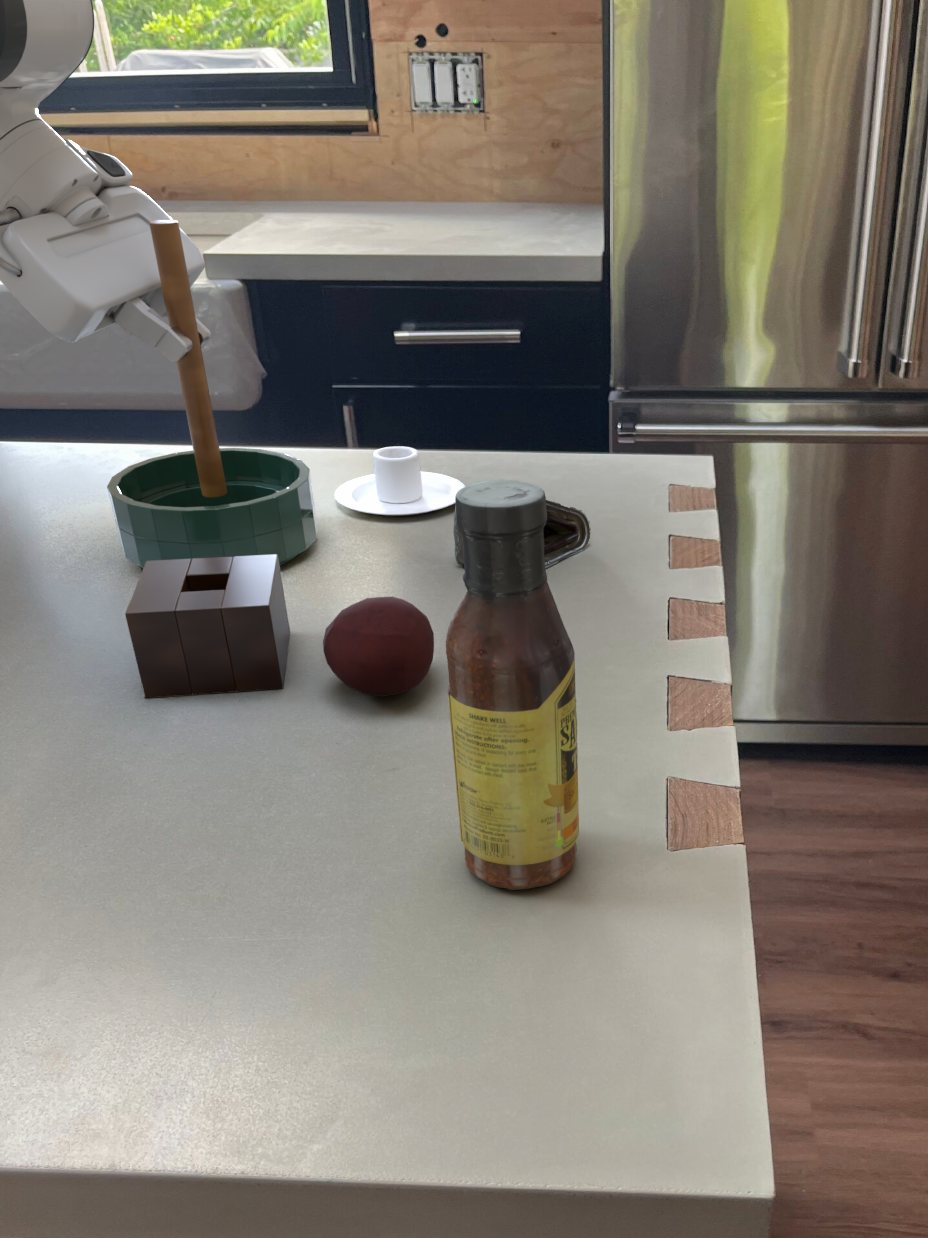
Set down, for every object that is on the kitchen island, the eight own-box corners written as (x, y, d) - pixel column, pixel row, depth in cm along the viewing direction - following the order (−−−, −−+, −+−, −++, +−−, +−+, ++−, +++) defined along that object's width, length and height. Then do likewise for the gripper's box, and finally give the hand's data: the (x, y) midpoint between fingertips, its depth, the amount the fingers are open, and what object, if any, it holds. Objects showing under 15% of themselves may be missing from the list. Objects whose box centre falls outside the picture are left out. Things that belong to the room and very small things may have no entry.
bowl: (109, 590, 92) (90, 514, 88) (140, 519, 104) (125, 451, 101) (315, 579, 94) (304, 505, 91) (321, 511, 107) (312, 444, 103)
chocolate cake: (535, 528, 105) (444, 451, 96) (596, 522, 101) (507, 441, 91) (504, 625, 103) (408, 556, 94) (566, 624, 99) (471, 551, 89)
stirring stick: (200, 498, 96) (147, 223, 85) (203, 490, 97) (151, 220, 86) (226, 497, 96) (176, 223, 85) (228, 489, 98) (179, 219, 86)
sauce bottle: (592, 885, 61) (592, 512, 50) (474, 905, 60) (446, 526, 49) (562, 817, 66) (555, 465, 55) (451, 834, 65) (421, 476, 54)
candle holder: (493, 498, 110) (491, 451, 108) (394, 532, 102) (389, 483, 100) (408, 470, 116) (404, 425, 114) (308, 500, 109) (302, 453, 106)
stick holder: (145, 698, 77) (124, 613, 74) (164, 640, 84) (146, 560, 81) (283, 689, 79) (269, 605, 75) (290, 632, 86) (277, 553, 82)
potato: (301, 703, 77) (288, 618, 74) (368, 651, 83) (359, 571, 80) (400, 725, 75) (390, 638, 71) (461, 670, 81) (455, 588, 78)
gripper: (-22, 184, 76) (155, 351, 80) (127, 155, 93) (266, 294, 97) (-65, 258, 79) (108, 415, 83) (87, 216, 96) (224, 349, 100)
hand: (194, 349), depth 90 cm, fingers closed on stirring stick, 2 cm apart
